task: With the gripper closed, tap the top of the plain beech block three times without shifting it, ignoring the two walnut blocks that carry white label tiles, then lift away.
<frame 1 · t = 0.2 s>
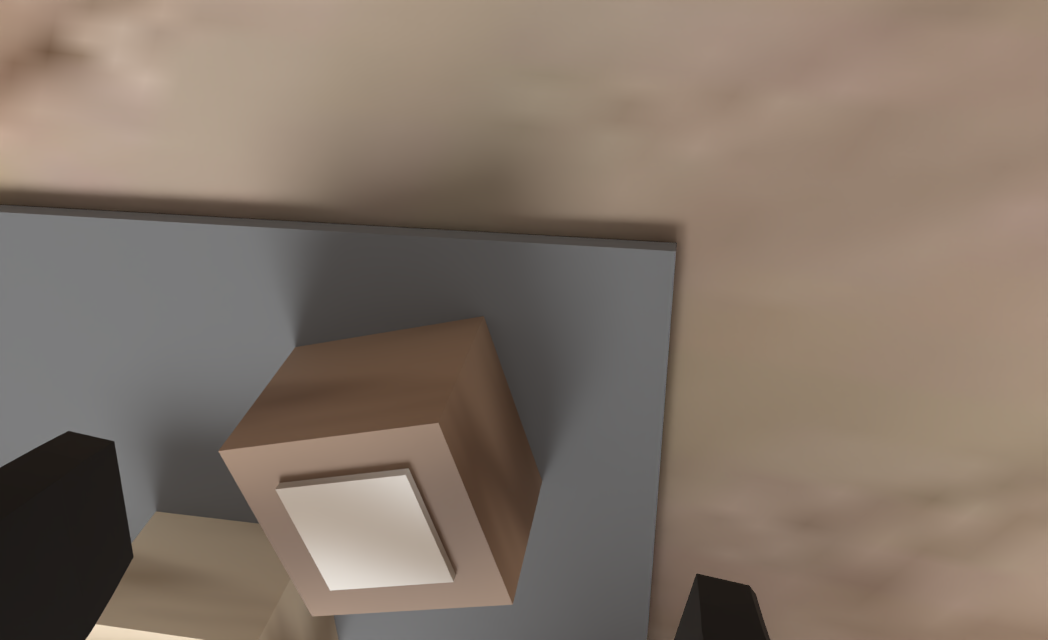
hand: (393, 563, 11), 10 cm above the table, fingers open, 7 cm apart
slate mat: (244, 523, 26), on the table
plain block: (251, 581, 26), resting on slate mat
walnut block a: (421, 415, 22), resting on slate mat
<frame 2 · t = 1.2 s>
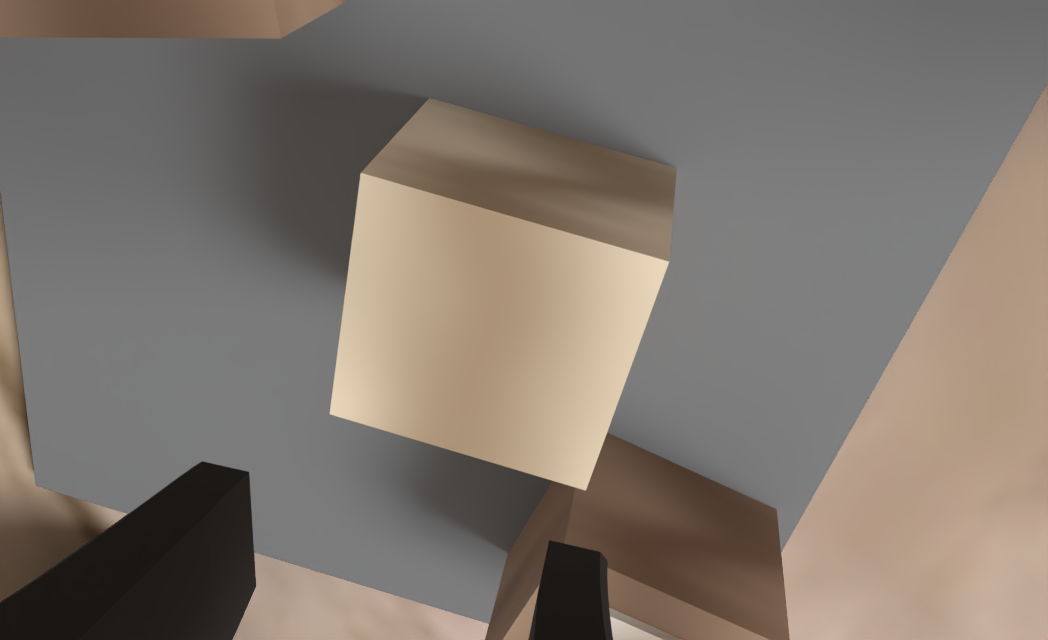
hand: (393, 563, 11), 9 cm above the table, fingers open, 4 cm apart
slate mat: (438, 209, 19), on the table
plain block: (524, 243, 18), resting on slate mat
walnut block b: (635, 532, 22), resting on slate mat
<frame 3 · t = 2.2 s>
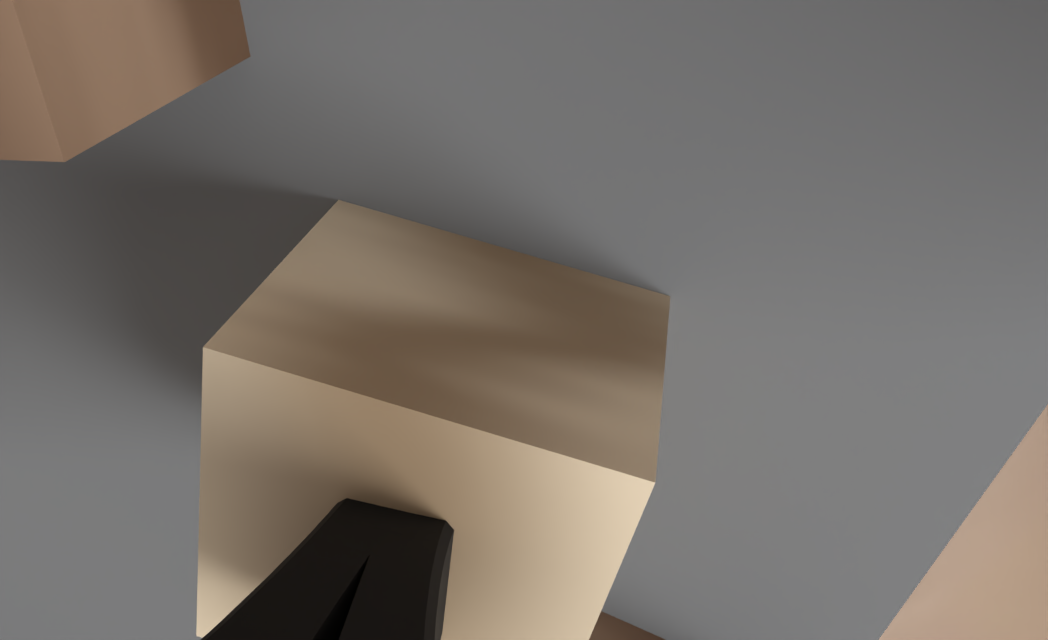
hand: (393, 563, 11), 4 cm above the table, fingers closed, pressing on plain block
slate mat: (360, 333, 14), on the table
plain block: (471, 381, 14), resting on slate mat, touching gripper
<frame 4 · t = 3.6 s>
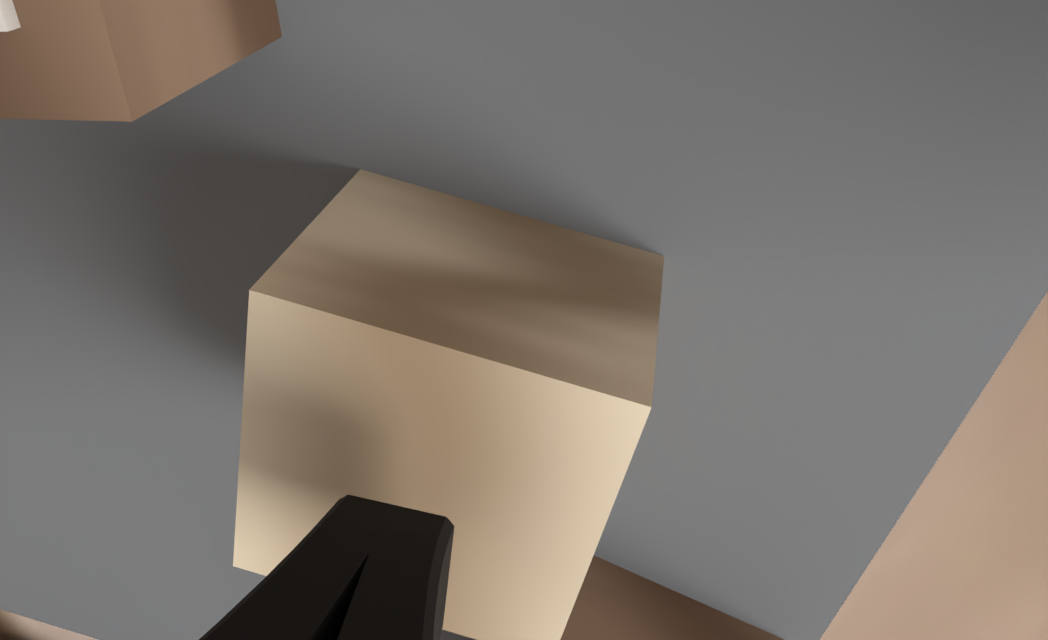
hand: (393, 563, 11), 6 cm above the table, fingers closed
slate mat: (378, 296, 15), on the table
plain block: (481, 339, 15), resting on slate mat
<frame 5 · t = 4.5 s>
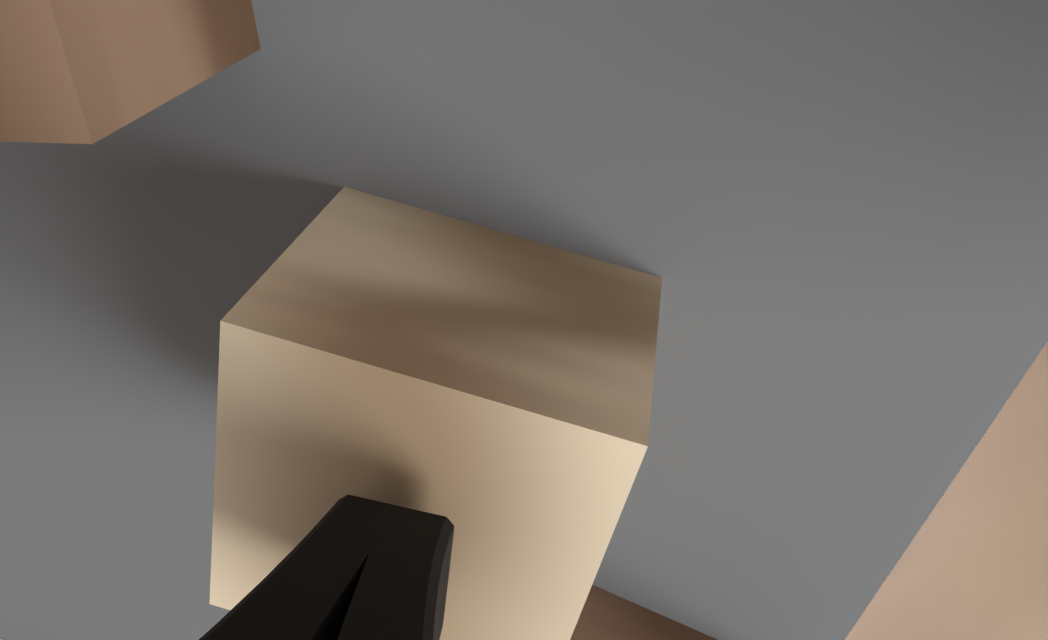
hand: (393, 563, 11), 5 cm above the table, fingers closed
slate mat: (364, 316, 15), on the table
plain block: (471, 362, 14), resting on slate mat
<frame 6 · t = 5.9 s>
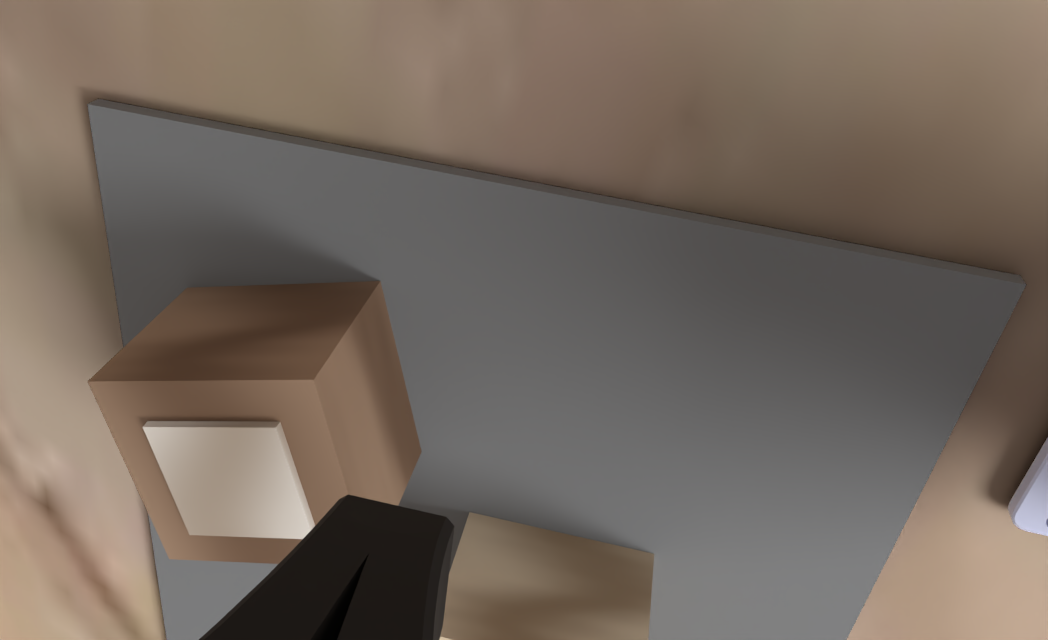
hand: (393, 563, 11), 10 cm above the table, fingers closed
slate mat: (481, 568, 25), on the table
plain block: (547, 595, 24), resting on slate mat
walnut block a: (308, 372, 22), resting on slate mat
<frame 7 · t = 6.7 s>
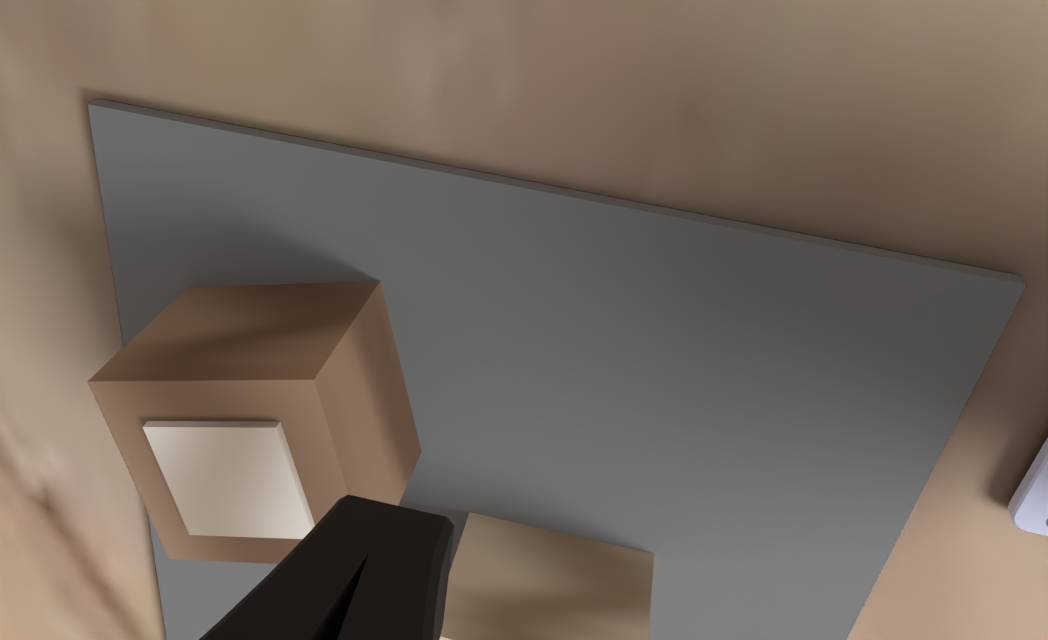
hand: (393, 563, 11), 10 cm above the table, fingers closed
slate mat: (481, 568, 25), on the table
plain block: (547, 595, 24), resting on slate mat
walnut block a: (308, 372, 22), resting on slate mat
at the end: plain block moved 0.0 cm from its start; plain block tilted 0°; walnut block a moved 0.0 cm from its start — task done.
